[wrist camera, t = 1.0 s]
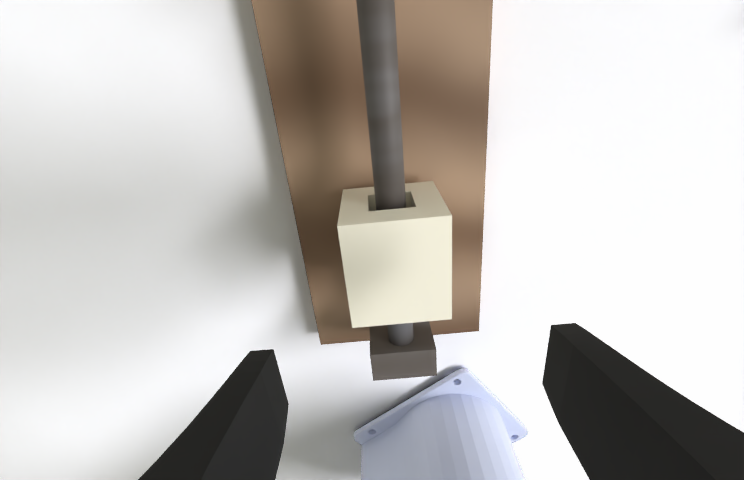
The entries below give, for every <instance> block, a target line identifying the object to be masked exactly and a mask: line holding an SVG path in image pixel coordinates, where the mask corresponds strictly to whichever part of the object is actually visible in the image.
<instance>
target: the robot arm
mask: <svg viewBox="0 0 744 480" xmlns="http://www.w3.org/2000/svg"><path fill="white" fill-rule="evenodd" d="M456 379H458V380H456ZM543 386H544V388H545V391H546V393H547V396H548V399H549V401H550V404H551V406H552V408H553V411H554V413H555V415H556V418H557V420H558V422H559V424H560V426H561V428H562V430H563V432H564V434H565V435H566V437H567V439H568V441H569V443H570V445H571V446H572V448H573V450H574V452H575V454H576V456H577V457H578V459H579V461H580V463H581V465H582V466H583V468H584V470H585V472H586V474H587V475H588V477H589V479H590V480H744V433H743V432H742V431H740V430H738V429H736V428H735V427H733V426H731V425H730V424H728V423H726V422H725V421H723V420H721V419H720V418H718V417H716V416H715V415H713V414H712V413H710V412H708V411H707V410H705V409H703V408H702V407H700V406H699V405H697V404H695V403H694V402H692V401H690V400H689V399H687V398H686V397H684V396H683V395H681V394H680V393H678V392H676V391H675V390H673V389H672V388H670V387H669V386H667V385H666V384H664V383H663V382H661V381H660V380H658V379H657V378H655V377H654V376H652V375H651V374H649V373H648V372H646V371H645V370H643V369H642V368H640V367H639V366H637V365H636V364H634V363H633V362H631V361H630V360H629V359H627V358H626V357H624V356H623V355H621V354H620V353H618V352H617V351H616V350H614V349H613V348H611V347H610V346H608V345H607V344H605V343H604V342H603V341H601V340H600V339H598V338H597V337H595V336H594V335H592V334H591V333H590V332H588V331H587V330H585V329H584V328H582V327H580V326H579V325H577V324H576V323H572V324H560V325H551V330H550V337H549V343H548V350H547V357H546V363H545V370H544V376H543ZM287 413H288V400H287V397H286V393H285V390H284V386H283V383H282V379H281V375H280V372H279V368H278V365H277V361H276V357H275V354H274V350H273V349H271V350H259V351H250V352H249V353H248V355H247V356H246V357H245V358H244V359H243V360H242V362H241V363H240V364H239V365H238V367H237V368H236V369H235V370H234V371H233V373H232V374H231V375H230V376H229V378H228V379H227V380H226V381H225V383H224V384H223V385H222V386H221V387H220V389H219V390H218V391H217V392H216V394H215V395H214V396H213V397H212V398H211V400H210V401H209V402H208V403H207V404H206V406H205V407H204V408H203V409H202V410H201V411H200V413H199V414H198V415H197V416H196V417H195V419H194V420H193V421H192V422H191V423H190V424H189V426H188V427H187V428H186V429H185V430H184V431H183V432H182V433H181V434H180V436H179V437H178V438H177V439H176V440H175V441H174V442H173V443H172V444H171V445H170V447H169V448H168V449H167V450H166V451H165V452H164V453H163V454H162V455H161V456H160V457H159V459H158V460H157V461H156V462H155V463H154V464H153V465H152V466H151V467H150V468H149V469H148V470H147V471H146V472H145V473H144V474H143V475H142V476H141V477H140V478H139V479H138V480H275V478H276V474H277V469H278V465H279V461H280V457H281V453H282V448H283V444H284V437H285V429H286V421H287ZM527 434H528V431H527V429H526V427H525V426H524V425H523V424H522V423H521V422H520V421H519V420H518V419H517V418H516V417H515V416H514V415H513V414H512V413H511V412H510V411H509V410H508V409H507V408H506V407H505V406H504V405H503V404H502V403H501V402H500V401H499V400H498V399H497V398H496V397H495V396H494V395H493V394H492V393H491V392H490V391H489V390H488V389H487V388H486V387H485V386H484V385H483V384H482V383H481V382H480V381H479V380H478V379H477V378H476V377H475V376H474V375H473V374H472V373H471V372H470V371H469V370H468V369H466V368H461V369H458V370H457V371H455V372H453V373H451V374H450V375H448V376H446V377H445V378H443V379H441V380H440V381H438V382H436V383H435V384H433V385H431V386H430V387H428V388H426V389H425V390H423V391H421V392H420V393H418V394H416V395H415V396H413V397H411V398H410V399H408V400H406V401H405V402H403V403H401V404H400V405H398V406H396V407H394V408H393V409H391V410H389V411H388V412H386V413H384V414H383V415H381V416H379V417H378V418H376V419H374V420H373V421H371V422H369V423H368V424H366V425H364V426H363V427H361V428H359V429H358V430H356V431H355V432H354V440H355V441H356V442H358V443H359V444H360V445H362V454H361V480H525V477H524V474H523V472H522V469H521V467H520V464H519V461H518V459H517V456H516V454H515V451H514V448H513V446H512V443H514V442H516V441H518V440H520V439H522V438H524V437H525V436H526V435H527Z"/></svg>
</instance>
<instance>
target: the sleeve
mask: <svg viewBox="0 0 744 480" xmlns="http://www.w3.org/2000/svg"><path fill="white" fill-rule="evenodd" d="M405 194H406V208H399V209H389V210H378V211H376V202H375V191H374V187H364V188H353V189H343V192H342V199H341V205H340V211H339V217H338V223H337V229H338V236H339V243H340V249H341V256H342V263H343V269H344V276H345V283H346V289H347V296H348V303H349V310H350V316H351V323H352V328H357V327H369V326H380V325H392V324H403V323H415V322H426V321H438V320H449V319H452V214H451V213H450V211H449V209H448V207H447V205H446V204H445V202H444V200H443V198H442V196H441V195H440V193H439V191H438V189H437V188H436V186H435V184H434V182H433V181H426V182H416V183H405Z"/></svg>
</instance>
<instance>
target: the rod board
mask: <svg viewBox="0 0 744 480" xmlns="http://www.w3.org/2000/svg"><path fill="white" fill-rule="evenodd" d="M251 1H252V5H253V10H254V15H255V20H256V25H257V30H258V35H259V40H260V45H261V50H262V55H263V60H264V65H265V70H266V75H267V80H268V85H269V90H270V95H271V100H272V105H273V110H274V115H275V120H276V124H277V129H278V134H279V139H280V144H281V149H282V154H283V159H284V164H285V169H286V174H287V179H288V184H289V189H290V194H291V199H292V204H293V209H294V214H295V219H296V224H297V229H298V234H299V238H300V243H301V248H302V253H303V258H304V263H305V268H306V273H307V278H308V283H309V288H310V293H311V298H312V303H313V308H314V313H315V318H316V323H317V328H318V333H319V338H320V343H321V345H322V344H333V343H345V342H357V341H368V340H370V358H371V366H372V373H373V381H375V380H387V379H398V378H410V377H422V376H434V375H437V368H436V347H435V343H434V339H433V335H438V334H449V333H461V332H472V331H479V313H480V289H481V266H482V242H483V219H484V195H485V171H486V148H487V124H488V100H489V77H490V53H491V30H492V6H493V0H251ZM426 181H433V182H434V184H435V186H436V188H437V189H438V191H439V193H440V195H441V196H442V198H443V200H444V202H445V204H446V205H447V207H448V209H449V211H450V213H451V214H452V319H449V320H438V321H426V322H415V323H403V324H392V325H380V326H369V327H357V328H352V323H351V316H350V310H349V303H348V296H347V289H346V283H345V276H344V269H343V263H342V256H341V249H340V243H339V236H338V229H337V223H338V217H339V211H340V205H341V199H342V192H343V189H353V188H364V187H374V191H375V202H376V211H378V210H389V209H399V208H406V194H405V183H416V182H426Z"/></svg>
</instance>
